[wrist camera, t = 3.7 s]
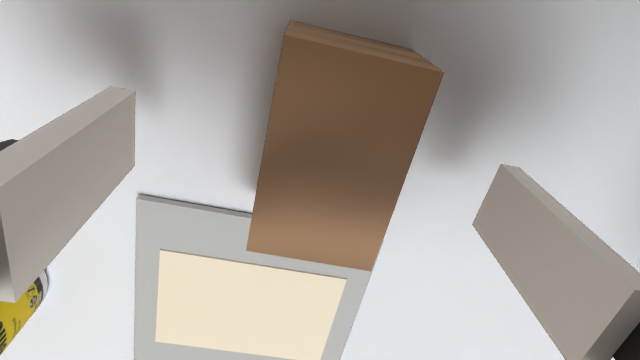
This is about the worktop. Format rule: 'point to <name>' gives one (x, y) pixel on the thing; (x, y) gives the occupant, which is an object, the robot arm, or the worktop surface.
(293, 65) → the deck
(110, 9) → the worktop surface
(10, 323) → the supplement bottle
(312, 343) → the mat
